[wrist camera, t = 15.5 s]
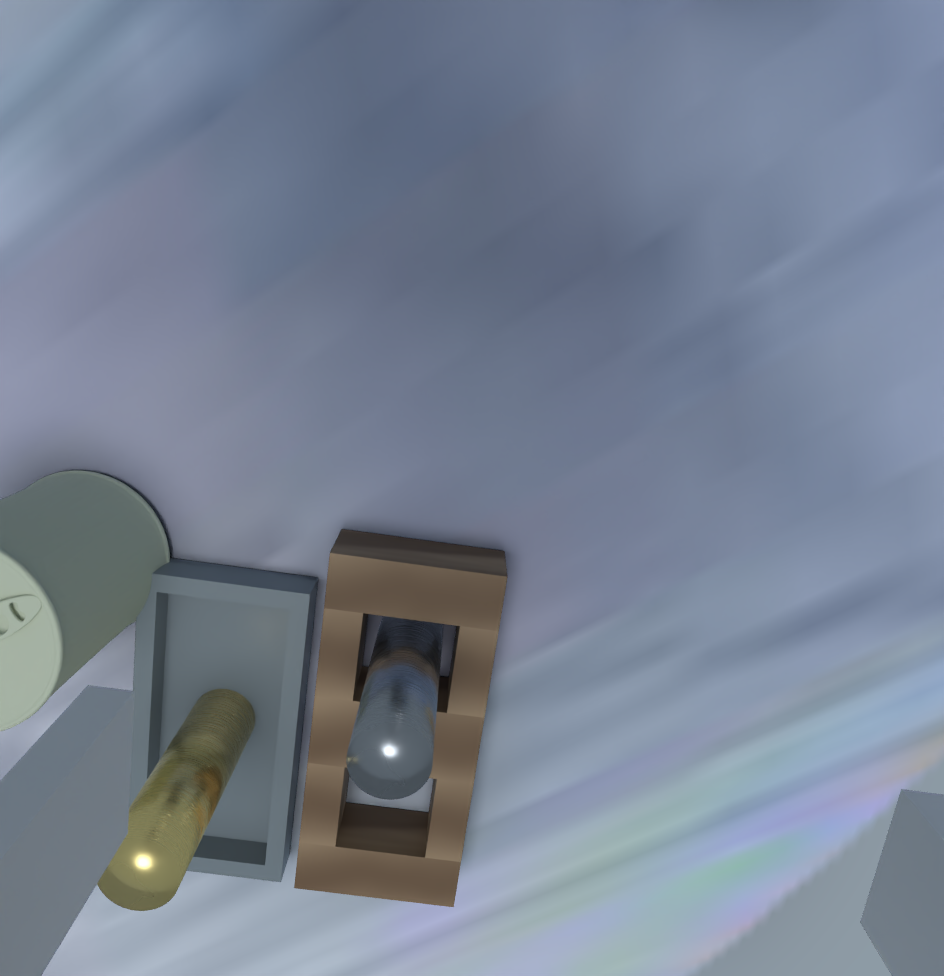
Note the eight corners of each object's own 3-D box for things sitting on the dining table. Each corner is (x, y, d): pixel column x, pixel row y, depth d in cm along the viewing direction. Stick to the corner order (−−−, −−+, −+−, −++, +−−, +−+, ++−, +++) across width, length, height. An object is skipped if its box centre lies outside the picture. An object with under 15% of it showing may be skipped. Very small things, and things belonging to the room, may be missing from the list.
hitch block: (341, 528, 46) (329, 552, 42) (504, 550, 47) (507, 576, 43) (307, 841, 51) (294, 888, 47) (454, 859, 52) (453, 907, 48)
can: (201, 592, 47) (97, 696, 35) (60, 653, 48) (-85, 773, 36) (117, 442, 45) (-21, 499, 33) (-26, 510, 46) (-208, 587, 35)
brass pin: (194, 685, 48) (95, 833, 35) (257, 693, 48) (182, 844, 36) (190, 740, 49) (93, 905, 36) (253, 748, 49) (177, 915, 36)
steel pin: (383, 598, 47) (351, 717, 35) (446, 606, 48) (437, 728, 35) (375, 656, 48) (342, 793, 36) (438, 664, 48) (426, 804, 36)
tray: (155, 555, 47) (138, 571, 44) (318, 577, 47) (309, 594, 45) (141, 834, 51) (124, 863, 49) (289, 852, 52) (280, 882, 49)
